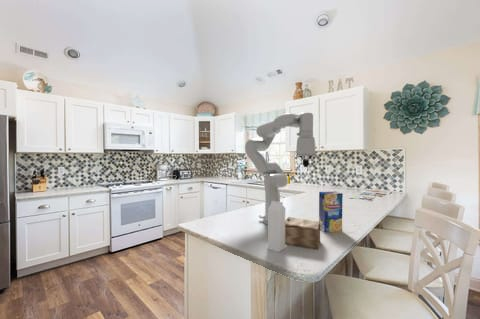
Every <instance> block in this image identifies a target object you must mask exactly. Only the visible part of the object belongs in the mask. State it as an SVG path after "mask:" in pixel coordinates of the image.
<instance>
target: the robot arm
mask: <svg viewBox="0 0 480 319" xmlns="http://www.w3.org/2000/svg"><path fill="white" fill-rule="evenodd" d="M286 127H289V128H290V127H291V128H295V129H296V128H299V130H298V132H297V133H296V136H297V139H296V140H297V141H296V148H295V149H296V151H295V152H296V154H295V157H297V158H300V159H301V160H302V166H303V168H308V167H309V164H310V163H309V161H310V159H312V158H315V157H316V156H317V155H316V154H317V153H316V140H315V139H316V138H315V136H314V114H313V113H312V112H301V113H300V114H295V113H291V112H289V113H284V114H280V115H278V116H276V117H275V118H274V120H272V121H269V122H266V123H264V124H261V125H259V126H258V127H257V128H256V130H255V132H256V135H257V136H258V137H259V138H260V139H259V138H250V139H248V140H246V142H245V145H244V150H245V153H246V156H247V157H248V159H249V160H250V161H251V162H252V164H253V166H254V167H255V168H256V170H257V171H258V173H259V174H260V175H261V176H264V180H263V186H264V193H265V194H264V195H265V200H264V202H265V203H264V206H265V211H264V214H258V215H259V216H258V217H259V219H262V223H263V224H265V225H268V208H269V207H270V205H271V201H277V202H281V194H280V190H279V189H281V188H286V186H287V185H288V182H289V179H288V177H287V175H286V173H285V172H284V170H283V169H282V168H281V166H280V165H279V164H278V163H277V162H275V161H269V160H266V158H265V157H264V155H263V154H262V153H260V152H265V151H267V150H268V149H269V147H270V145H271V144H272V142H273V141H274V139H275V137H276V135H277V134H280V133H281V131H282V130H281V129H282V128H283V129H284V128H286ZM305 155H306V156H305Z"/></svg>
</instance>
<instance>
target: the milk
mask: <svg viewBox="0 0 480 319" xmlns="http://www.w3.org/2000/svg"><path fill="white" fill-rule="evenodd" d="M283 204H284V203H283V201H280V202H277V201H271V205H270V207H269V208H268V224H267V249H268V250H271V251H274V252H277V253H280V252H282V251H283V250H284V249H286V245H285V220H286V207H285V206H284V205H283Z"/></svg>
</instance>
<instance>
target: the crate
mask: <svg viewBox="0 0 480 319" xmlns="http://www.w3.org/2000/svg"><path fill="white" fill-rule="evenodd" d="M320 243H321V229H320V224H319V227H318V231H317V230H311V229H305V228H299V227H293V226H288V225H285V246H291V247H296V248H302V249H309V250H314V251H318V250H319V247H320Z"/></svg>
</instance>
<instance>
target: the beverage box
mask: <svg viewBox="0 0 480 319" xmlns="http://www.w3.org/2000/svg"><path fill="white" fill-rule="evenodd" d="M318 222H320V231H322V232H324V233H330V232H331V233H332V232H343V192H339V191H319V192H318Z"/></svg>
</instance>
